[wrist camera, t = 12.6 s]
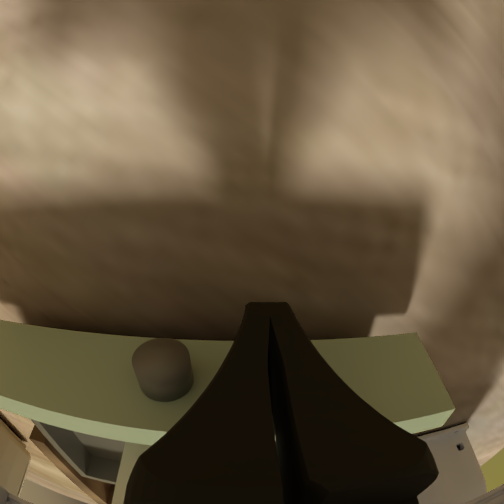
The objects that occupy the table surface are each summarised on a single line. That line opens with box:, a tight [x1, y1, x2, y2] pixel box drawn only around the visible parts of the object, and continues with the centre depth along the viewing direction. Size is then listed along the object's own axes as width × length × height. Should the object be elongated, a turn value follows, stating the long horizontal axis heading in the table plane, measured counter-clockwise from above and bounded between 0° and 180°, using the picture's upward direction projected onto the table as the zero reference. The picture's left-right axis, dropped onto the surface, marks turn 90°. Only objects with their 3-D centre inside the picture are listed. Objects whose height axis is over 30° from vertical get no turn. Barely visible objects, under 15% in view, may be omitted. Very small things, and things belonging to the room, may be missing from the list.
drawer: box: [0, 320, 455, 485], centre depth 13 cm, size 14×21×4 cm
